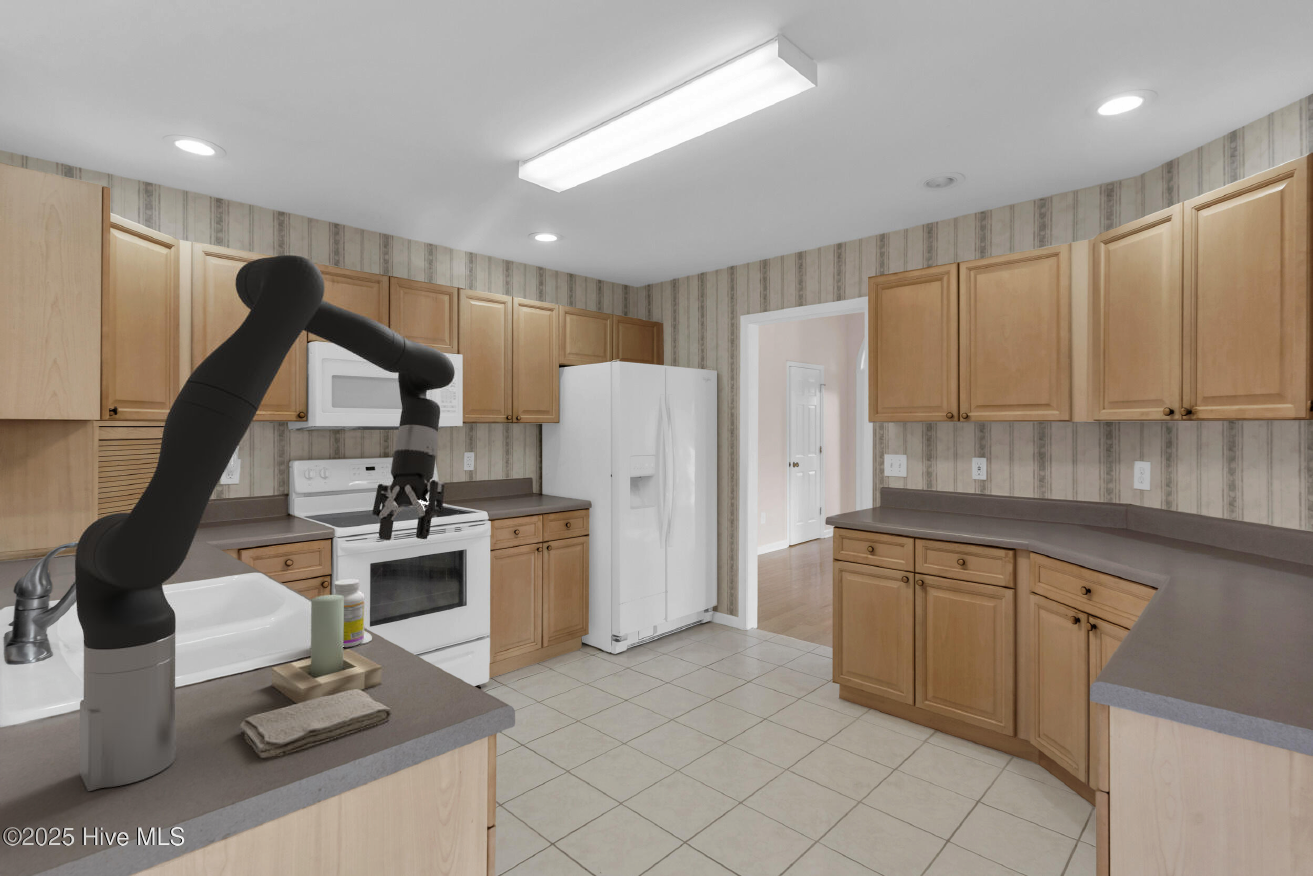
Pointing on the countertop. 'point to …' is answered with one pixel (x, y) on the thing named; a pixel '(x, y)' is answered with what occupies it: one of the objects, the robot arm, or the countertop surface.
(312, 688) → the pocket block
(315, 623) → the green cylinder
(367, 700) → the washcloth
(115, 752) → the robot arm
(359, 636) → the supplement bottle
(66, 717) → the countertop surface
